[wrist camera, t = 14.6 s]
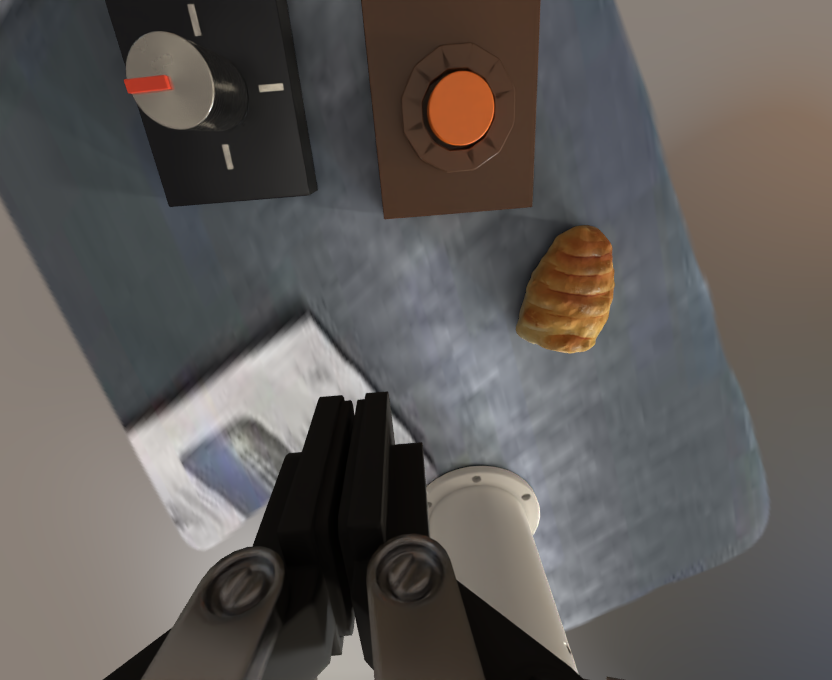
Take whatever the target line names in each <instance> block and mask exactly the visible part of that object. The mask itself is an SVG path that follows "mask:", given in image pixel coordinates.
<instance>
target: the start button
mask: <svg viewBox="0 0 832 680" xmlns="http://www.w3.org/2000/svg"><path fill="white" fill-rule="evenodd" d="M493 114H494V99H493V95H492V92H491V89H490V87H489V86H488V84H487V83H486V82H485V80H484V79H482V78H481V77H480V76H479V75H477V74H475V73H473V72H469V71H456V72H453V73H450V74H448V75H447V76H445V77H444V78H443V79H442V80H440V81H439V83H438V84H437V85H436V87H435V88H434V90H433V91H432V93H431V95H430V98H429V100H428V105H427V118H428V122H429V125H430V127H431V129H432V131H433V133H434V134H435V135H436V136H437V137H438V138H439V139H440V140H442V141H443V142H445V143H447V144H451V145H467V144H471V143H473V142H475V141H476V140H478V139H479V138H481V137H482V136H483V135H484V134H485V132H486V131H487V130H488V128H489V126H490V124H491V122H492V118H493Z"/></svg>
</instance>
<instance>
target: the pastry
mask: <svg viewBox="0 0 832 680" xmlns="http://www.w3.org/2000/svg"><path fill="white" fill-rule="evenodd" d="M612 265H613V264H612V246H611V243H610V242H609V240H608V239H607V238H606V237H605V235H604V234H603V233H602V232H601V231H600V230H599V229H598V228H596V227H593V226H589V225H581V226H575V227H573V228H571V229H569V230H568V231H566V232H564V233H562V234H560V235H558V236H557V237H556V238H555V240H554V242H553V244H552V245H551V246H550V248H549V250H548V252H547V253H546V255H545V256H543V258H542V259H541V260H540V263H539V265H538V266H537V268H536V269H535V270H534V271H533V272H532V274H531V279H530V281H529V282H528V285H527V288H526V294H525V298H524V300H523V304H522V306H521V309H520V313H519V320H518V323H517V325H516V332H517V334H518V335H519V336H520V337H521V338H523V339H525V340H526V341H528V342H530V343H533V344H537V345H539V346H541V347H543V348H546V349H549V350H554V351H558V352H565V353H575V352H583V351H586V350H588V349H590V348H591V347H592V346H594V345H595V340H596V338H597V336H598V334H599V332H600V331H601V330H602V328H603V326H604V324H605V323H606V321H607V319H608V316H609V310H610V304H611V302H612V299H613V289H614V286H615V283H614V269H613V266H612Z"/></svg>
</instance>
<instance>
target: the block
mask: <svg viewBox="0 0 832 680" xmlns="http://www.w3.org/2000/svg"><path fill="white" fill-rule="evenodd" d="M361 4H362V13H363V23H364V32H365V42H366V51H367V61H368V70H369V80H370V89H371V99H372V109H373V118H374V128H375V137H376V147H377V156H378V166H379V175H380V185H381V194H382V204H383V213H384V219H394V218H406V217H418V216H430V215H442V214H454V213H466V212H478V211H490V210H502V209H514V208H527V207H532V201H533V175H534V150H535V124H536V99H537V73H538V48H539V22H540V0H361ZM456 71H469V72H473V73H475V74H477V75H479V76H480V77H481V78H482V79H484V80H485V82H486V83H487V84H488V86H489V87H490V89H491V92H492V95H493V99H494V114H493V118H492V122H491V124H490V126H489V128H488V130H487V131H486V132H485V134H484V135H483V136H482V137H481V138H479V139H478V140H476V141H475V142H473V143H471V144H467V145H451V144H447V143H445V142H443V141H442V140H440V139H439V138H438V137H437V136H436V135H435V134H434V133H433V131H432V129H431V127H430V125H429V122H428V118H427V105H428V100H429V98H430V95H431V93H432V91H433V90H434V88H435V87H436V85H437V84H438V83H439V81H440V80H442V79H443V78H444V77H445V76H447V75H448V74H450V73H453V72H456Z"/></svg>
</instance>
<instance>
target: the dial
mask: <svg viewBox="0 0 832 680" xmlns="http://www.w3.org/2000/svg"><path fill="white" fill-rule="evenodd" d="M126 77H127V79H124V83H125V86H126V89H127V92H128V93H130V94H132V95H133V97H134V99H135V101H136V102H137V104H138V105H139V107H140V108H141V109H142V110H143V111H144V112H145V114H146V115H147V116H149V117H150V118H151V119H152V120H154V121H155V122H157V123H158V124H160V125H162V126H165V127H167V128H171V129H176V130H195V131H227V130H230V129H232V128H234V127H235V126H236V125H238V124H239V123H240V122H241V120H242V119H243V117H244V115H245V113H246V110H247V105H248V93H247V88H246V85H245V82H244V79H243V77H242V76H241V74H240V72H239V71H238V69H237V68H236V67H235V66H234V65H233V64H232V63H231V62H230V61H229V60H228V59H226V58H225V57H223V56H221V55H219V54H217V53H215V52H213V51H211V50H209V49H207V48H205V47H202V46H200V45H198V44H196V43H194V42H192V41H190V40H187V39H185V38H183V37H181V36H179V35H176V34H174V33H170V32H166V31H154V32H150V33H147V34H145V35H143V36H141V37H140V38H139V39H138V40H136V41H135V43H134V44H133V45H132V47H131V49H130V51H129V53H128V56H127V61H126Z"/></svg>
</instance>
